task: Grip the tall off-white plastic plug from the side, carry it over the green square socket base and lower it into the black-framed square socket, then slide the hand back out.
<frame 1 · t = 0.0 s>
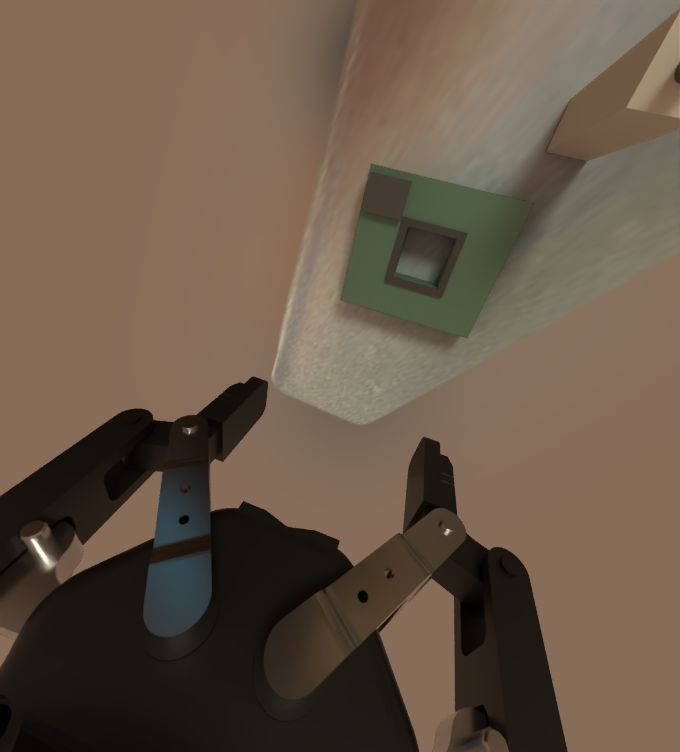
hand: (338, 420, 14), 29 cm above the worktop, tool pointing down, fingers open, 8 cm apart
green square socket base: (423, 255, 36), on the worktop
plug: (579, 130, 27), on the worktop
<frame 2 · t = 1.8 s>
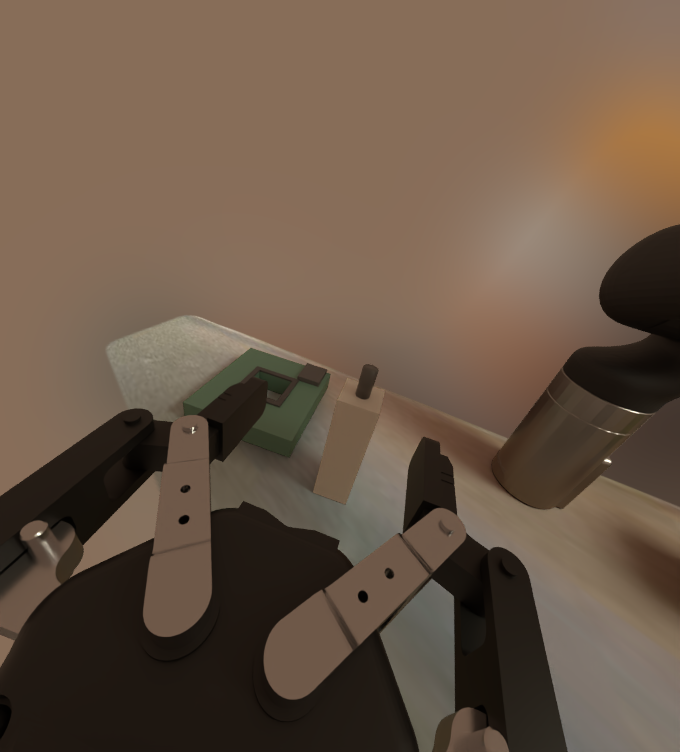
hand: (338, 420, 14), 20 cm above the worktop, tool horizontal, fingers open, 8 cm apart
green square socket base: (266, 401, 45), on the worktop
plug: (333, 484, 35), on the worktop
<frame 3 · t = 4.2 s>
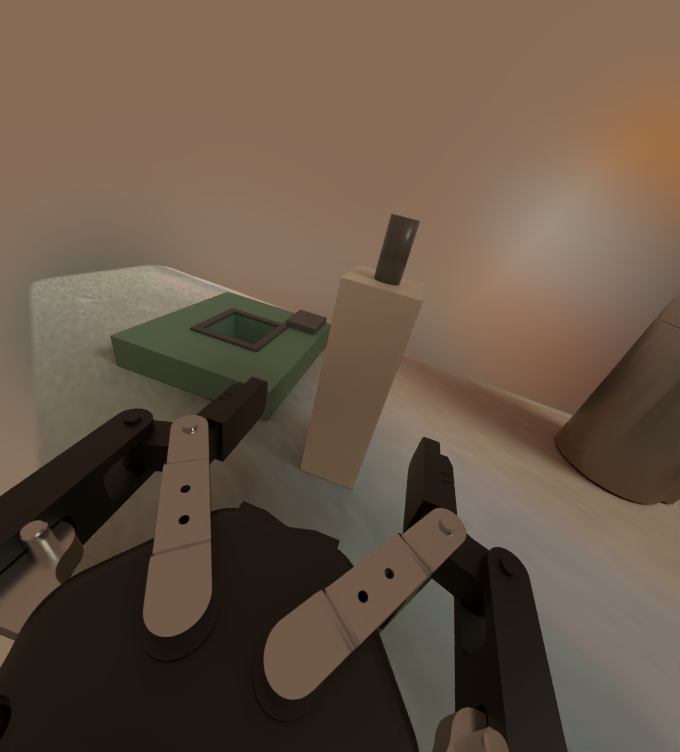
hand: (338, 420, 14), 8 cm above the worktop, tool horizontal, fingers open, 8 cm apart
green square socket base: (242, 353, 33), on the worktop
plug: (333, 459, 22), on the worktop
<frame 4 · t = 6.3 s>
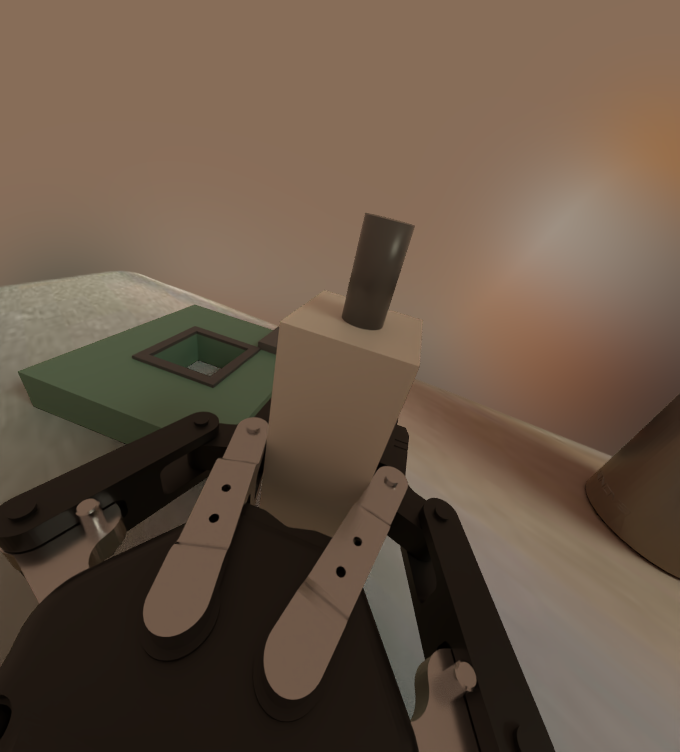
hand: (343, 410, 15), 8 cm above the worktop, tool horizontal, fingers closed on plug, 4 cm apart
green square socket base: (204, 381, 27), on the worktop
plug: (301, 541, 17), on the worktop, touching gripper
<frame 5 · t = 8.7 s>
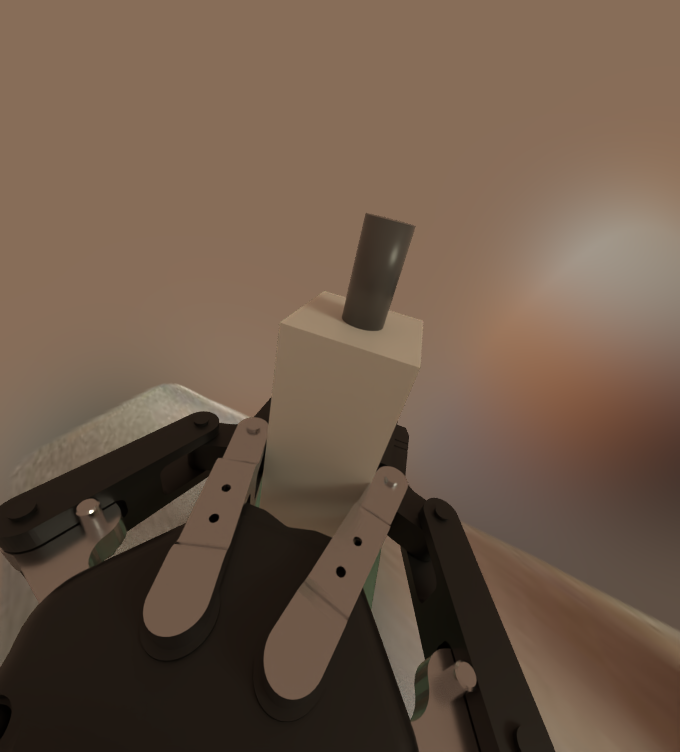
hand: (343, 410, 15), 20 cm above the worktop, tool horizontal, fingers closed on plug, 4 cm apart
green square socket base: (277, 590, 25), on the worktop
plug: (301, 542, 17), point 12 cm above the worktop, touching gripper
when the fingers open (9 cm above the worktop, at t = 11.4 s): plug stays where it is, resting in green square socket base.
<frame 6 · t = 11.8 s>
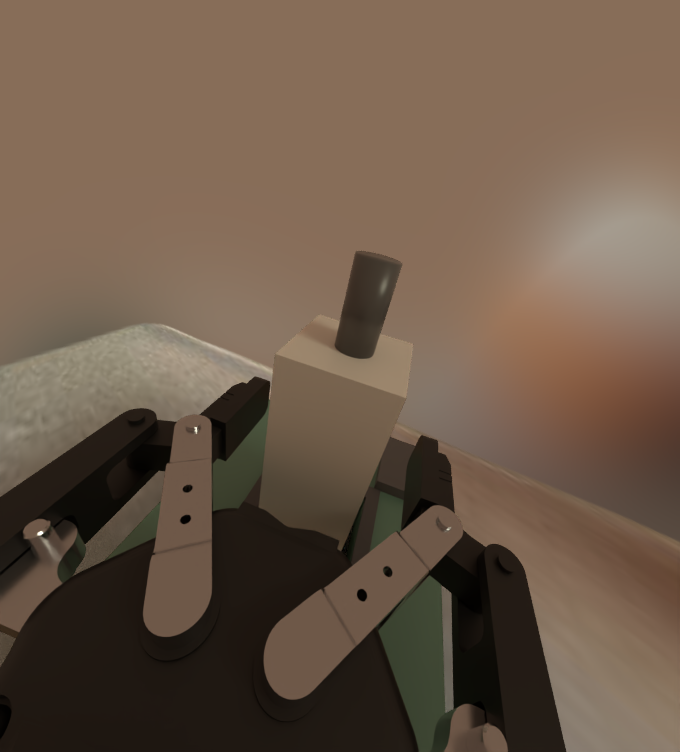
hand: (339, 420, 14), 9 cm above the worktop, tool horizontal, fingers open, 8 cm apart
green square socket base: (299, 550, 17), on the worktop
plug: (299, 551, 17), resting in green square socket base
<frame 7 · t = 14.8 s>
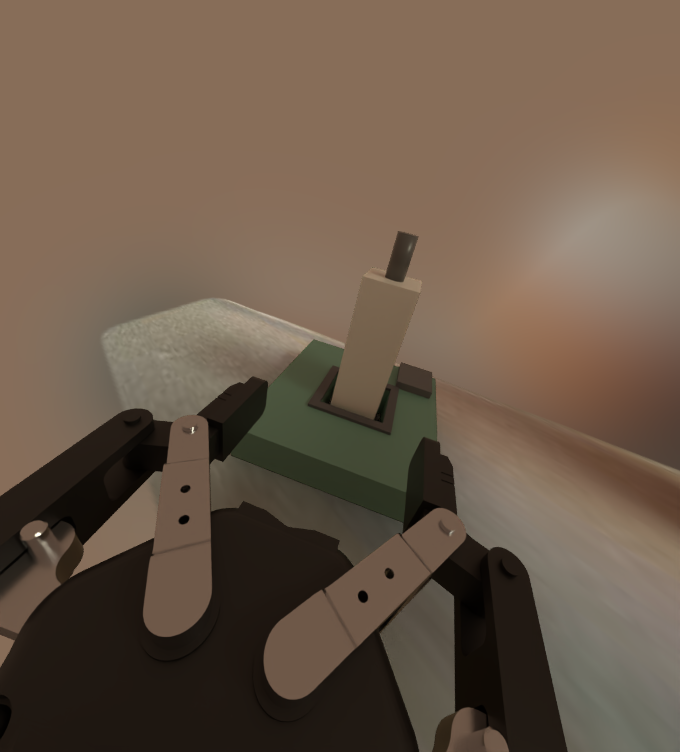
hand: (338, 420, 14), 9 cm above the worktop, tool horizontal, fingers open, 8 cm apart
green square socket base: (350, 421, 28), on the worktop
plug: (350, 421, 28), resting in green square socket base
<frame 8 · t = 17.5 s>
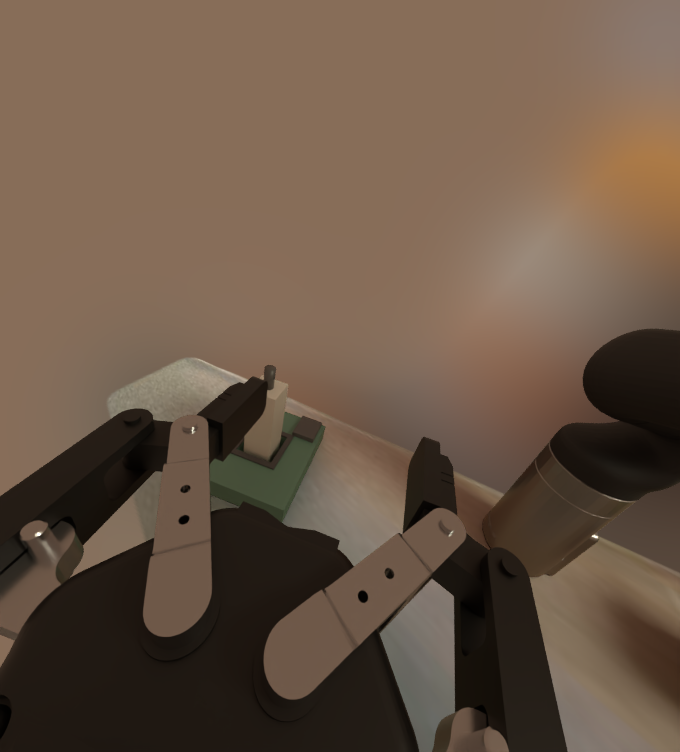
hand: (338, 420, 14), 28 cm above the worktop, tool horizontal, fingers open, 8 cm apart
green square socket base: (261, 457, 46), on the worktop
plug: (261, 457, 46), resting in green square socket base
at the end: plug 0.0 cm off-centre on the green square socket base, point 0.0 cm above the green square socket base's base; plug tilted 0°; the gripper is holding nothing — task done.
